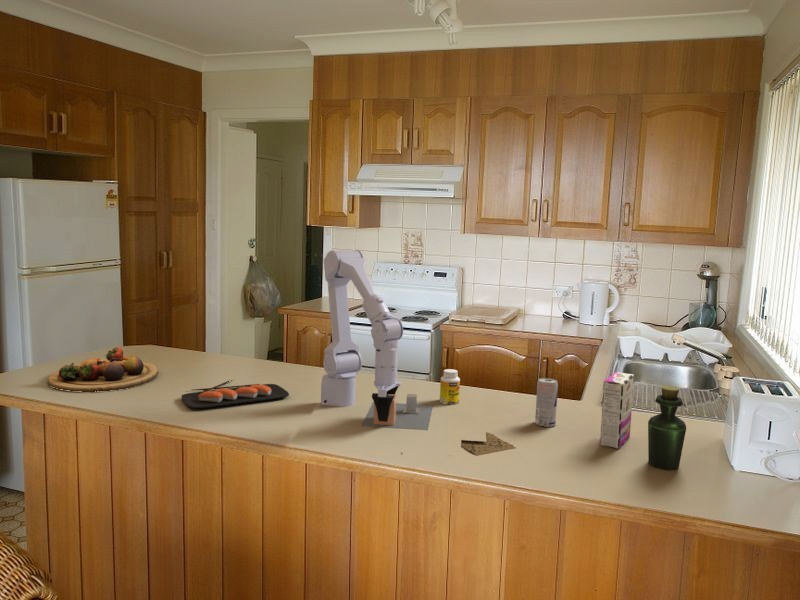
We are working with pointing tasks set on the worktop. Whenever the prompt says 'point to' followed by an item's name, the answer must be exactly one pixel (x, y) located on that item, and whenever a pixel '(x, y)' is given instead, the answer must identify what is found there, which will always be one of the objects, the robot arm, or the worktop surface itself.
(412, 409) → the post
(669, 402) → the potion bottle
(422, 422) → the mat
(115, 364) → the wooden plate with food
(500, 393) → the worktop surface
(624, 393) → the candy bar box
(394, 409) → the salmon pink block
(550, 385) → the energy drink
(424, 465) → the worktop surface
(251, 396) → the sushi plate
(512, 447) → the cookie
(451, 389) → the supplement bottle
